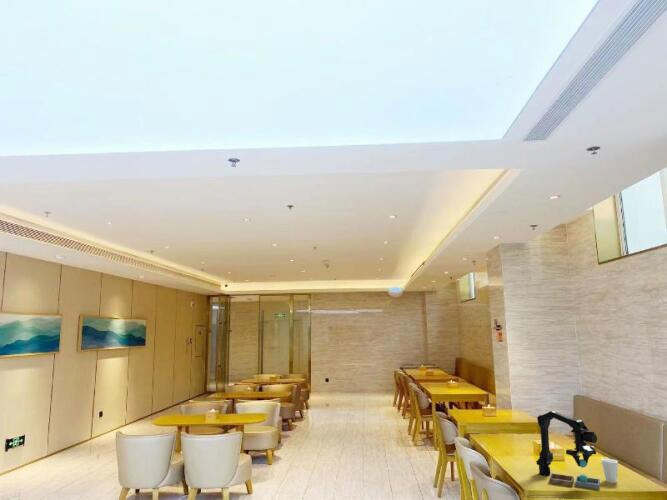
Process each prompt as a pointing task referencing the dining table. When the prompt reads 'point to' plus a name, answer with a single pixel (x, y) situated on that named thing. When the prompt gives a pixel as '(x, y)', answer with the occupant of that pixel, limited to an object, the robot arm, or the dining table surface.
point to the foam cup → (610, 469)
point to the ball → (583, 478)
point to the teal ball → (582, 463)
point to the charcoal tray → (588, 483)
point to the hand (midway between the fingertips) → (582, 465)
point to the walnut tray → (562, 480)
